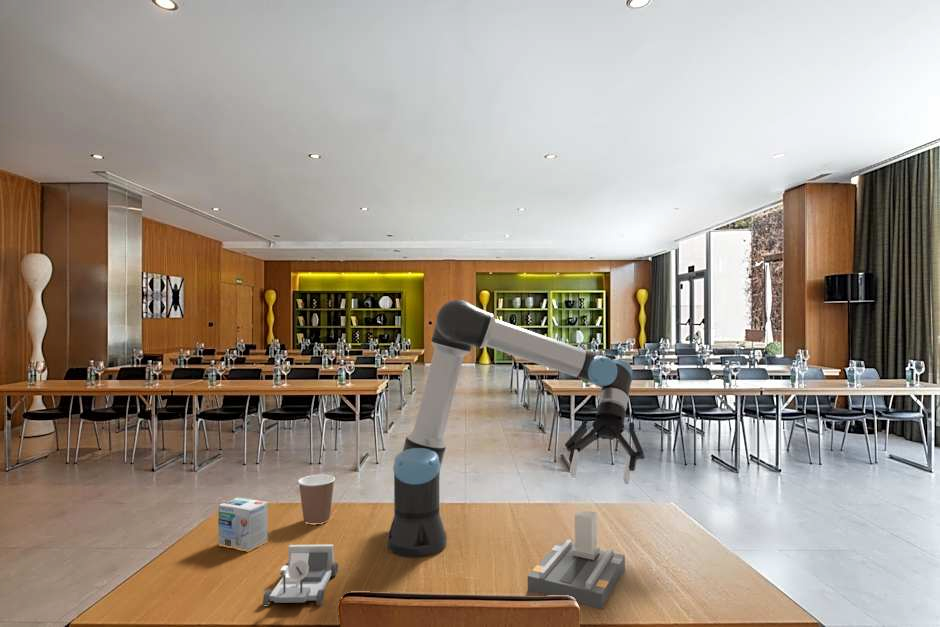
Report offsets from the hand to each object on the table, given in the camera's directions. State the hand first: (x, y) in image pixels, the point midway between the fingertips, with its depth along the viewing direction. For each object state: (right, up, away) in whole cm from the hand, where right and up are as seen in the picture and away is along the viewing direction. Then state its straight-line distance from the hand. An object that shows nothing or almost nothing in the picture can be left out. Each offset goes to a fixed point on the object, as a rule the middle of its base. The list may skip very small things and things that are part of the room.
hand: (598, 477), depth 134 cm
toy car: (-68, -19, -20) cm, 74 cm away
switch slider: (-5, -15, -10) cm, 18 cm away
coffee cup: (-77, -19, +20) cm, 81 cm away
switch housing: (-8, -18, -15) cm, 25 cm away
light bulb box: (-91, -19, +4) cm, 93 cm away
